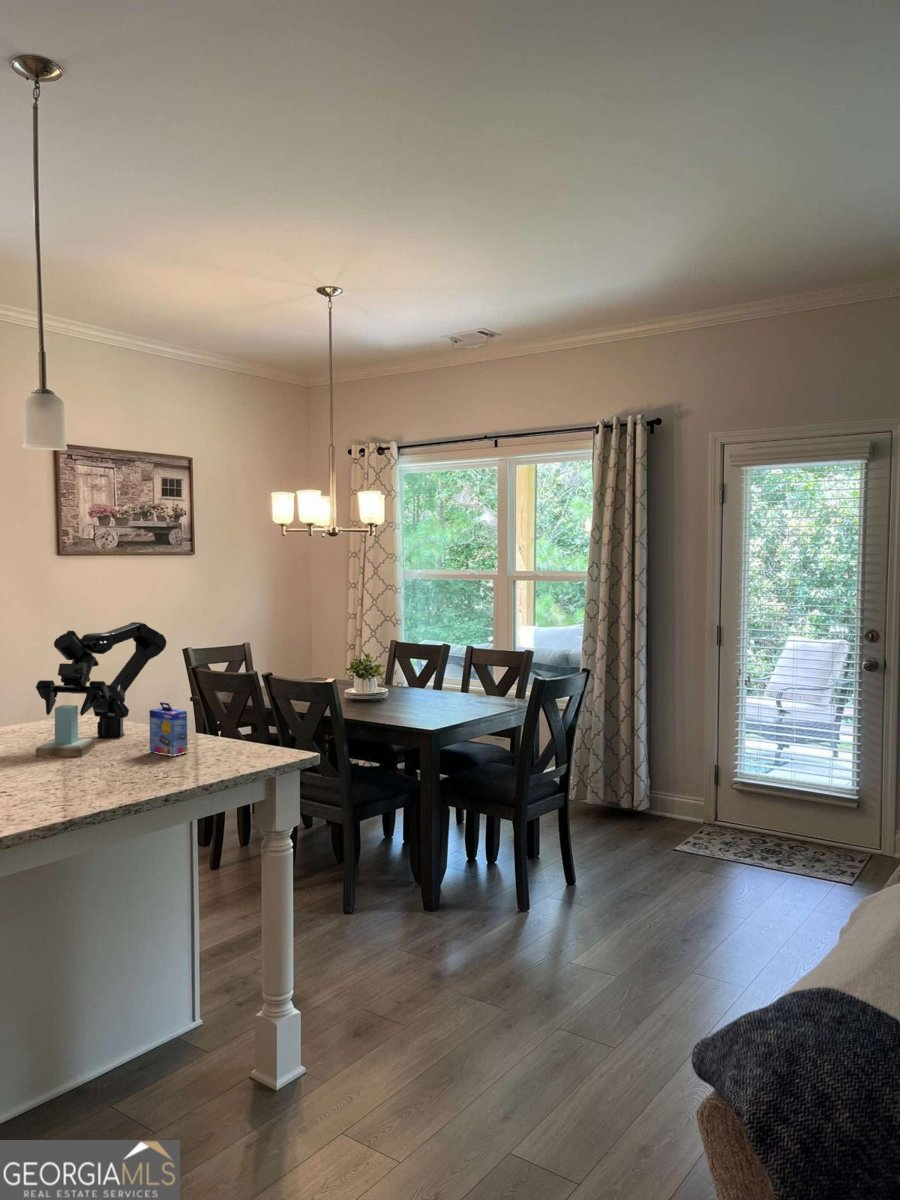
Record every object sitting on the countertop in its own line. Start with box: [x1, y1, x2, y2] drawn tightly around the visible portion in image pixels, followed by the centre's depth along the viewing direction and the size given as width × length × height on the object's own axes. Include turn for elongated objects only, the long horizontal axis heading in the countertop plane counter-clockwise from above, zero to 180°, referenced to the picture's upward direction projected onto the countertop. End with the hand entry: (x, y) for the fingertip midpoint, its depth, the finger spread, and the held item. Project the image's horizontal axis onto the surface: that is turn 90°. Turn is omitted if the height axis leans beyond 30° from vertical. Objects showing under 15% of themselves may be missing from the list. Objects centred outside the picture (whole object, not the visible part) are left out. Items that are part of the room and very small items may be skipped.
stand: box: [35, 738, 96, 758], centre depth 241 cm, size 12×12×3 cm
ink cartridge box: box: [149, 702, 188, 755], centre depth 242 cm, size 10×6×14 cm, turn 59°
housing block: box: [54, 704, 79, 744], centre depth 241 cm, size 4×4×10 cm
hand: (64, 714), depth 240 cm, fingers open, 9 cm apart
